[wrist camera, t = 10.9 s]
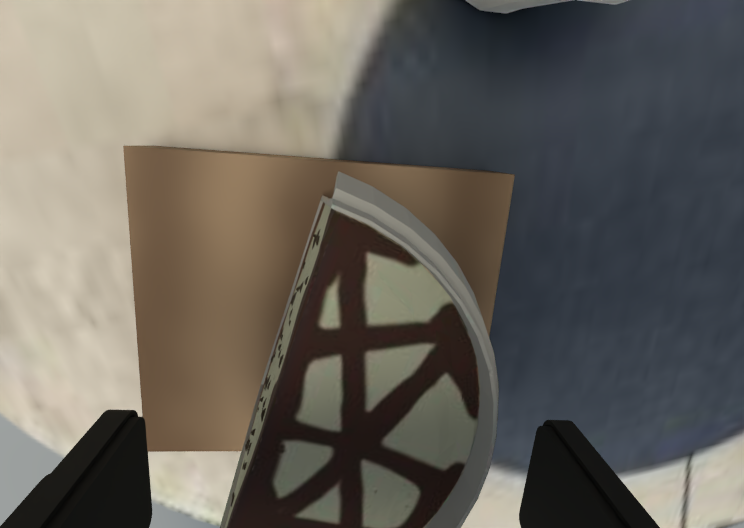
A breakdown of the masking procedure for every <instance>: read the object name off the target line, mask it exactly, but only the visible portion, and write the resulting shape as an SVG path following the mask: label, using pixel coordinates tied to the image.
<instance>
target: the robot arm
mask: <svg viewBox="0 0 744 528" xmlns="http://www.w3.org/2000/svg"><path fill="white" fill-rule="evenodd" d="M151 518H152V503H151V490H150V477H149V464H148V451H147V438H146V425H145V419H144V418H143V417H138V414H137V412H136V411H134V410H107V411H105V412H104V413H103V414H102V415H101V417H100V418H99V419H98V420H97V421H96V422H95V423H94V425H93V426H92V427H91V428H90V429H89V430H88V431H87V433H86V434H85V435H84V436H83V437H82V438H81V439H80V441H79V442H78V443H77V444H76V445H75V446H74V447H73V449H72V450H71V451H70V452H69V453H68V454H67V455H66V457H65V458H64V459H63V460H62V461H61V462H60V463H59V465H58V466H57V467H56V468H55V469H54V470H53V472H52V473H51V474H48V475H47V476H45V477H44V478H43V479H42V480H41V481H40V482H39V483H38V484H37V486H36V487H35V488H34V489H33V490H32V491H31V492H30V493H29V495H28V496H27V497H26V498H25V499H24V500H23V501H22V503H21V504H20V505H19V506H18V507H17V508H16V509H15V510H14V512H13V513H12V514H11V515H10V516H9V517H8V518H7V519H6V521H5V522H4V523H3V524H2V525H1V526H0V528H149V526H150V522H151ZM519 520H520V525H521V528H660V527H659V526H658V525H657V524H656V522H655V521H654V520H653V519H652V518H651V516H650V515H649V514H648V513H647V512H646V510H645V509H644V508H643V507H642V505H641V504H640V503H639V502H638V501H637V499H636V498H635V497H634V496H633V495H632V493H631V492H630V491H629V490H628V488H627V487H626V486H625V485H624V484H623V482H622V481H621V480H620V479H619V478H618V476H617V475H616V474H615V473H614V471H613V470H612V469H611V468H610V467H609V465H608V464H607V463H606V462H605V461H604V459H603V458H602V457H601V456H600V455H599V453H598V452H597V451H596V450H595V448H594V447H593V446H592V445H591V444H590V442H589V441H588V440H587V439H586V438H585V436H584V435H583V434H582V433H581V431H580V430H579V429H578V428H577V427H576V425H575V424H574V423H573V422H572V421H568V420H547V421H545V422H544V424H543V426H539V427H538V428H537V431H536V436H535V441H534V446H533V450H532V455H531V460H530V465H529V469H528V474H527V479H526V484H525V488H524V493H523V498H522V503H521V507H520V513H519Z"/></svg>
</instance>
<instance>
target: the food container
mask: <svg viewBox="0 0 744 528" xmlns="http://www.w3.org/2000/svg"><path fill="white" fill-rule="evenodd" d="M498 394H499V385H498V378H497V370H496V363H495V356H494V351H493V348H492V345H491V342H490V339H489V336H488V333H487V330H486V327H485V324H484V321H483V318H482V315H481V312H480V309H479V306H478V303H477V301H476V298H475V295H474V292H473V291H472V289H471V287H470V285H469V283H468V281H467V280H466V278H465V276H464V274H463V272H462V270H461V268H460V267H459V265H458V263H457V262H456V260H455V259H454V258H453V257H452V255H451V254H450V253H449V251H448V250H447V249H446V248H445V246H444V245H443V244H442V243H441V241H440V240H439V239H438V238H437V236H436V235H435V234H434V233H433V232H432V231H431V230H430V229H429V228H428V227H426V226H425V225H424V224H423V223H422V222H421V221H420V220H419V219H418V218H417V217H415V216H414V215H413V214H412V213H411V212H410V211H409V210H408V209H407V208H405V207H404V206H402V205H400V204H399V203H397V202H396V201H394V200H393V199H391V198H390V197H388V196H387V195H385V194H384V193H382V192H380V191H379V190H377V189H376V188H374V187H373V186H370V185H368V184H366V183H364V182H362V181H359V180H357V179H355V178H353V177H350V176H348V175H346V174H344V173H341V172H339V171H338V174H337V177H336V182H335V188H334V194H333V197H332V199H331V198H329V197H326V196H324V195H322V197H321V200H320V203H319V206H318V210H317V213H316V216H315V219H314V222H313V225H312V228H311V231H310V234H309V237H308V240H307V243H306V246H305V250H304V253H303V256H302V259H301V262H300V265H299V268H298V271H297V274H296V277H295V280H294V283H293V287H292V290H291V293H290V296H289V299H288V302H287V305H286V308H285V311H284V314H283V317H282V320H281V323H280V327H279V330H278V333H277V336H276V339H275V342H274V345H273V348H272V351H271V354H270V357H269V360H268V364H267V367H266V370H265V373H264V376H263V379H262V382H261V385H260V389H259V392H258V396H257V399H256V403H255V406H254V410H253V413H252V417H251V420H250V424H249V427H248V431H247V434H246V438H245V441H244V445H243V448H242V452H241V455H240V459H239V462H238V466H237V469H236V473H235V476H234V480H233V483H232V487H231V490H230V494H229V497H228V501H227V504H226V508H225V511H224V515H223V518H222V522H221V525H220V528H461V526H462V525H463V523H464V521H465V520H466V518H467V516H468V514H469V513H470V511H471V509H472V508H473V506H474V504H475V502H476V501H477V499H478V497H479V494H480V492H481V489H482V487H483V484H484V481H485V479H486V476H487V474H488V471H489V469H490V464H491V460H492V455H493V450H494V445H495V440H496V432H497V420H498Z"/></svg>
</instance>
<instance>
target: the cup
mask: <svg viewBox="0 0 744 528" xmlns="http://www.w3.org/2000/svg"><path fill="white" fill-rule="evenodd" d="M465 1H467V2H468V3H470V4H471V5H473V6H474V7H476V8H477V9H479V10H481V11H489V12H497V13H505V14H506V13H510V12H513V11H517V10H520V9H524V8H530V7H536V6H542V5H548V4H555V3H561V2H567V1H573V0H465ZM579 1H588V2H596V3H605V4H613V5H617V4H620V3H623V2H626V1H629V0H579Z"/></svg>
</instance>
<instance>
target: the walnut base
mask: <svg viewBox="0 0 744 528" xmlns="http://www.w3.org/2000/svg"><path fill="white" fill-rule="evenodd" d="M123 147H124V161H125V175H126V189H127V203H128V217H129V231H130V245H131V259H132V273H133V287H134V301H135V315H136V329H137V343H138V357H139V371H140V385H141V399H142V413H143V418H144V419H145V425H146V438H147V451H242V448H243V445H244V441H245V438H246V434H247V431H248V427H249V424H250V420H251V417H252V413H253V410H254V406H255V403H256V399H257V396H258V392H259V389H260V385H261V382H262V379H263V376H264V373H265V370H266V367H267V364H268V360H269V357H270V354H271V351H272V348H273V345H274V342H275V339H276V336H277V333H278V330H279V327H280V323H281V320H282V317H283V314H284V311H285V308H286V305H287V302H288V299H289V296H290V293H291V290H292V287H293V283H294V280H295V277H296V274H297V271H298V268H299V265H300V262H301V259H302V256H303V253H304V250H305V246H306V243H307V240H308V237H309V234H310V231H311V228H312V225H313V222H314V219H315V216H316V213H317V210H318V206H319V203H320V200H321V197H322V195H324V196H326V197H329V198H331V199H332V197H333V194H334V188H335V182H336V177H337V174H338V171H339V172H341V173H344V174H346V175H348V176H350V177H353V178H355V179H357V180H359V181H362V182H364V183H366V184H368V185H370V186H373V187H374V188H376V189H377V190H379V191H380V192H382V193H384V194H385V195H387V196H388V197H390V198H391V199H393V200H394V201H396V202H397V203H399V204H400V205H402V206H404V207H405V208H407V209H408V210H409V211H410V212H411V213H412V214H413V215H414V216H415V217H417V218H418V219H419V220H420V221H421V222H422V223H423V224H424V225H425V226H426V227H428V228H429V229H430V230H431V231H432V232H433V233H434V234H435V235H436V236H437V238H438V239H439V240H440V241H441V243H442V244H443V245H444V246H445V248H446V249H447V250H448V251H449V253H450V254H451V255H452V257H453V258H454V259H455V260H456V262H457V263H458V265H459V267H460V268H461V270H462V272H463V274H464V276H465V278H466V280H467V281H468V283H469V285H470V287H471V289H472V291H473V292H474V295H475V298H476V301H477V303H478V306H479V309H480V312H481V315H482V318H483V321H484V324H485V327H486V330H487V333H488V336H489V335H490V328H491V322H492V316H493V309H494V303H495V297H496V290H497V284H498V278H499V271H500V265H501V259H502V252H503V246H504V240H505V233H506V227H507V221H508V214H509V208H510V202H511V195H512V189H513V183H514V176H515V175H513V174H507V173H500V172H494V171H485V170H471V169H458V168H444V167H431V166H418V165H404V164H391V163H377V162H364V161H351V160H337V159H324V158H310V157H297V156H283V155H270V154H257V153H243V152H230V151H216V150H203V149H190V148H176V147H163V146H123Z"/></svg>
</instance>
